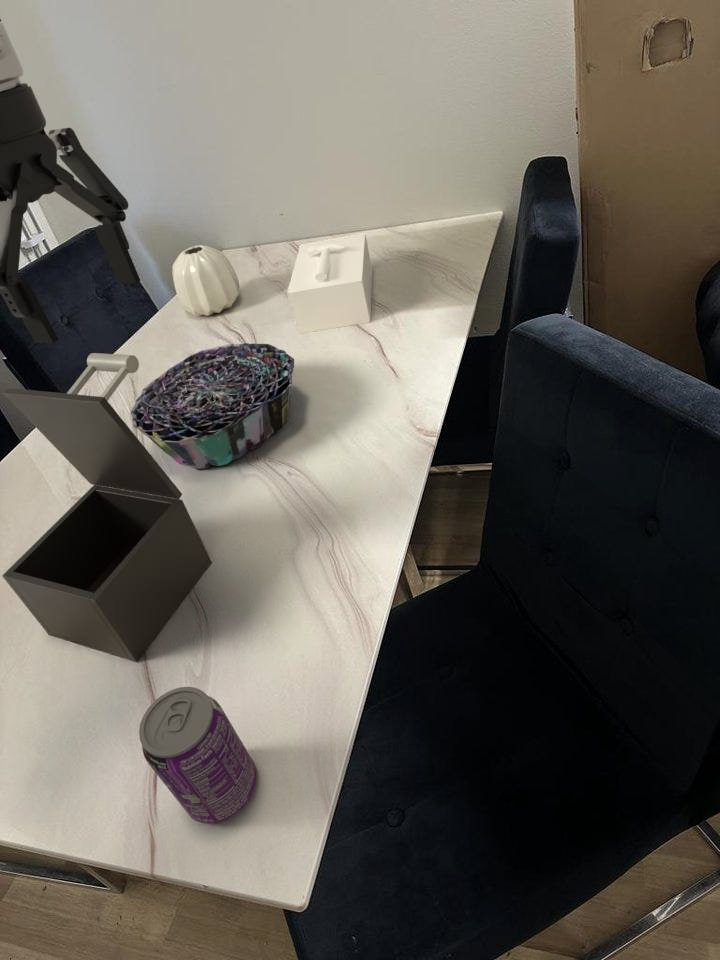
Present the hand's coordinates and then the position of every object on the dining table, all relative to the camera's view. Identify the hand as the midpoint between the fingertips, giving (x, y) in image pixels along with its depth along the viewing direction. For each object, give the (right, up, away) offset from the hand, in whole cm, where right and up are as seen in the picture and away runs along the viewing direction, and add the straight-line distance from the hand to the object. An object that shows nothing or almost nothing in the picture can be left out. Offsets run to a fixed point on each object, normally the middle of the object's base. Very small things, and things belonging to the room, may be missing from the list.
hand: (91, 310), depth 72 cm
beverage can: (+16, -47, -10) cm, 51 cm away
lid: (-1, -15, +3) cm, 15 cm away
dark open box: (+1, -33, +11) cm, 35 cm away
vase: (-3, +20, +77) cm, 80 cm away
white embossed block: (+25, +19, +68) cm, 74 cm away
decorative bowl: (+8, -10, +37) cm, 39 cm away
